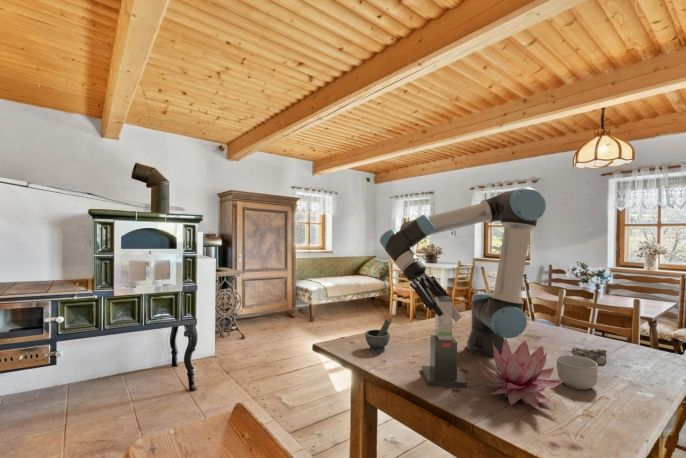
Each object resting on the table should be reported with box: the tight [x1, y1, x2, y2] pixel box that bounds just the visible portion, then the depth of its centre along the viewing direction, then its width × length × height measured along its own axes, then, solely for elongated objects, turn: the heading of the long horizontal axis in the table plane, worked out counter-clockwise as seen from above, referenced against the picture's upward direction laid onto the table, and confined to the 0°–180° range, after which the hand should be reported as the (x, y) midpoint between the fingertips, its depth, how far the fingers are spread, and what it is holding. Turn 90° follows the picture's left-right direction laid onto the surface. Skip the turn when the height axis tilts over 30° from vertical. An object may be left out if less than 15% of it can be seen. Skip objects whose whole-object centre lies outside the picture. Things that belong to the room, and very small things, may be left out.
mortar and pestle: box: [364, 318, 392, 354], centre depth 136 cm, size 11×9×12 cm
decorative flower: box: [478, 338, 564, 409], centre depth 98 cm, size 21×21×15 cm
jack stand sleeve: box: [420, 334, 468, 388], centre depth 111 cm, size 12×12×13 cm
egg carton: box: [571, 346, 608, 365], centre depth 129 cm, size 11×8×4 cm
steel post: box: [434, 295, 454, 341], centre depth 111 cm, size 4×4×20 cm
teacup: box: [555, 353, 599, 391], centre depth 108 cm, size 14×11×8 cm
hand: (454, 321), depth 108 cm, fingers closed on steel post, 6 cm apart
